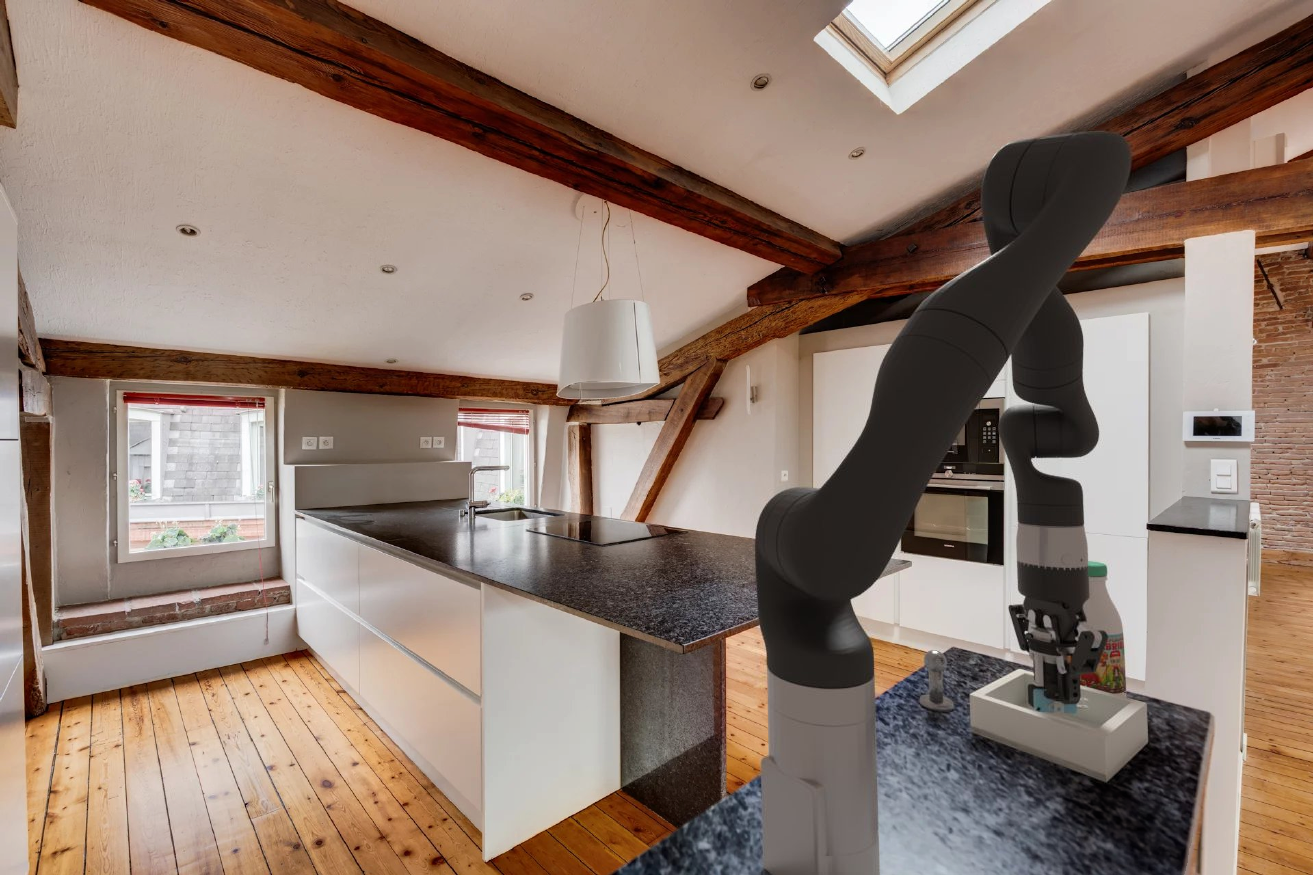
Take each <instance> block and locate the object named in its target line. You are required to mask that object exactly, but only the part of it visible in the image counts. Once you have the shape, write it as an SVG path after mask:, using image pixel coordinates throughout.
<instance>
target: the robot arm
mask: <svg viewBox="0 0 1313 875" xmlns="http://www.w3.org/2000/svg"><path fill="white" fill-rule="evenodd" d="M996 151H997V152H995V153H994V155H993V156H992V158H991V159H990V161H989V163H988V165H987V167H986V169H985V172H984V176H983V179H982V183H981V192H980V208H981V216H982V224H983V227H984V228H983V229H984V233H985V237H986V242H987V245H988V246H987V247H988V249H989V253H990V256H988V257H987V258H986V259H984V260H982V261H980V262H979V263H977V264H975V265H974V266H973V267H971V268H969V269H967V270H965V271H964V272H962V273H960V274H958V275H957V276H956V277H954V278H953V279H950V280H949V281H947V282H946V283H945V284H943V285H942V286H940V287H939V288H937V289H936V290H935V291H934V292H932V293H931V294H929V296H928V297H926V298H925V299H924V300H922V302H921V303H920V304H919V305H918V307H917V308H916V309H915V311H914V312H913V313H912V314H911V316H910V317H909V318H908V320H907V322H906V323H905V324H904V326H903V327H902V329H901V330H900V332H899V333H898V334H897V336H896V337H895V339H894V340H893V341H892V343H891V344H890V347H889V348H888V350H887V352H886V353H885V355H884V357H883V359H882V361H881V363H880V366H879V369H878V372H877V374H876V375H877V376H876V379H875V383H874V388H873V393H872V398H871V404H870V409H869V414H868V416H867V417H868V418H866V419H867V420H866V422H865V425H864V427H863V430H862V432H861V433H860V435H859V437H858V438H857V440H856V441H855V443H854V445H853V446H852V448H851V449H850V451H848V453H847V455H845V457H844V458H843V460H842V461H841V463H840V464H839V465H838V467H837V468H836V469H835V470H834V471H833V473H832V474H831V476H830V477H828V479H827V480H826V481H825V483H824V484H823V485H822V486H821V487H809V486H797V487H796V486H795V487H792V488H791V487H790V488H788V489H784V490H782V491H780V492H778V493H776V494H775V495H774V496H772V497H771V499H769V501H768V502H767V503H766V504H765V506H764V507H763V509H762V511H761V512H760V515H759V518H758V519H757V525H756V529H755V538H754V539H755V540H754V563H755V564H754V566H755V583H756V584H755V585H756V598H757V600H756V601H757V616H758V624H759V629H760V632H761V636H762V639H763V641H764V645H765V646H764V647H765V651H766V652H765V653H766V680H767V681H766V682H767V685H766V687H767V688H766V689H767V727H768V728H767V732H768V733H767V734H768V736H767V737H768V739H767V742H768V755H765V756H764V757H763V758H761V760H760V777H761V779H760V780H761V781H760V784H761V825H762V826H761V829H762V830H761V831H762V867H763V869H765V870H766V871H767V872H768V873H770V874H771V875H881V874H880V873H881V872H880V871H881V869H880V867H881V866H880V829H879V798H878V797H879V796H878V795H879V793H878V761H877V758H878V757H877V725H876V724H877V722H876V720H877V719H876V717H877V716H876V685H875V683H876V681H875V654H874V653H875V652H874V646H873V643H872V641H871V638H870V637H869V635H868V634H867V632H866V630H865V629H864V628H863V626H862V625H861V623H860V621H859V620H858V617H857V615H856V613H855V610H854V608H853V604H852V599H855V598H857V597H859V596H861V595H863V594H864V593H865V592H866V591H867V590H869V589H870V588H871V587H872V586H873V585H874V584H875V583H876V582H877V581H878V580H879V578H880V576H882V574H883V572H884V571H885V569H886V568H887V566H888V564H889V562H890V560H891V559H892V557H893V555H894V553H895V551H896V549H897V547H898V545H899V543H900V541H901V539H902V537H903V535H904V533H905V531H906V529H907V528H908V524H909V523H910V520H911V518H912V517H913V514H914V512H915V511H916V508H917V506H918V504H919V502H920V500H921V498H922V497H923V495H924V493H925V491H926V488H927V487H928V485H929V483H930V481H931V479H932V477H933V476H934V474H935V473H936V472H937V469H938V467H939V466H940V465H941V463H942V462H943V461H944V459H945V457H946V455H947V454H948V452H949V450H950V449H951V448H952V446H953V444H954V443H955V442H956V440H957V438H958V437H959V435H960V433H961V431H962V430H963V428H964V427H965V425H966V424H967V422H968V421H969V419H970V417H971V416H972V414H973V412H974V411H975V410H976V408H977V407H978V405H979V404H980V403H981V401H982V400H983V398H984V397H985V395H986V394H987V393H988V391H989V390H990V389H991V387H992V385H993V384H994V382H996V381H995V380H996V379H997V378H998V376H999V375H1000V373H1001V371H1002V370H1003V368H1004V367H1005V365H1007V362H1008V361H1009V358H1010V357H1011V360H1010V361H1011V378H1012V387H1013V391H1014V393H1015V394H1016V396H1017V397H1018V398H1019V399H1020V400H1021V399H1022V401H1025V402H1026V404H1017V405H1012V406H1009V407H1008V408H1007V409H1005V410H1004V412H1003V413H1002V414H1001V416H1000V418H999V420H998V426H997V428H998V434H999V439H1000V441H1001V444H1002V447H1003V450H1004V452H1005V455H1006V456H1007V459H1008V462H1009V466H1010V469H1011V472H1012V474H1013V479H1014V485H1015V490H1016V492H1015V493H1016V510H1017V511H1016V512H1017V522H1018V523H1017V528H1016V537H1015V539H1016V570H1017V571H1016V574H1017V590H1018V593H1019V594H1020V595H1022V596H1023V597H1024V599H1023V603H1021V604H1020V603H1019V604H1009V605H1008V608H1007V609H1008V613H1009V616H1010V619H1011V622H1012V625H1013V631H1014V632H1015V636H1016V640H1017V643H1018V647H1019V648H1020V650H1021V651H1024V652H1027V653H1028V656H1029V657H1030V660H1032V661H1033V663H1032V665H1033V673H1034V681H1035V661H1034V651H1033V650H1031V649H1030V648H1029V646H1028V640H1027V639H1026V638H1025V634H1026V633H1025V632H1027V633H1030V634H1032V632H1033V627H1034V628H1042V629H1044V630H1047V632H1048V633H1050V643H1054V644H1057V645H1058V644H1060V643H1072V642H1074V641H1075V642H1076V646H1074V647H1070V648H1058V647H1056V652H1057V653H1058V654H1060V655H1061V656H1056V662H1057V668H1058V671H1059V672H1057V680H1058V700H1059V701H1060V702H1062V703H1064V704H1066V705H1067V704H1077V703H1078V702H1079V701H1080V698H1081V693H1080V692H1081V691H1080V675H1081V674H1087V673H1095V672H1096V669H1097V666H1098V664H1099V661H1100V658H1101V656H1102V653H1103V650H1104V648H1105V645H1106V642H1107V640H1108V635H1107V633H1106V632H1105V631H1103V630H1097V631H1096V630H1095V629H1093V628H1092V627H1091V626H1090V625H1089V624H1087V618H1086V615H1085V613H1084V610H1083V604H1084V603H1085V602H1086V601H1087V600H1088V599H1089V597H1090V594H1089V568H1088V561H1089V547H1088V540H1087V535H1086V530H1085V514H1084V513H1085V509H1084V490H1083V487H1082V484H1081V483H1080V482H1079V481H1078V480H1076V479H1074V478H1069V477H1065V476H1059V475H1052V474H1048V473H1044V472H1042V471H1040V470H1038V469H1037V468H1036V467H1035V466H1034V464H1033V462H1032V459H1035V458H1036V459H1073V458H1074V459H1075V458H1076V459H1077V458H1081V457H1085V456H1087V455H1088V454H1089V453H1091V452H1092V451H1093V450H1094V449H1095V448H1096V446H1097V445H1098V443H1099V440H1100V428H1099V425H1098V424H1099V423H1098V421H1097V417H1096V415H1095V412H1094V411H1093V410H1094V409H1093V408H1092V406H1091V403H1090V401H1089V399H1088V397H1087V394H1086V390H1085V384H1084V371H1083V370H1084V368H1083V367H1084V343H1085V341H1084V334H1083V329H1082V325H1081V322H1080V320H1079V318H1078V316H1077V313H1076V312H1075V310H1074V309H1073V307H1072V306H1071V304H1070V302H1068V300H1067V298H1066V297H1065V295H1064V294H1063V293H1062V291H1061V290H1060V289H1059V288H1058V286H1057V285H1058V283H1059V282H1060V281H1061V280H1062V278H1063V277H1064V276H1065V275H1066V273H1067V272H1068V271H1069V269H1070V268H1071V267H1072V266H1073V265H1074V263H1075V262H1076V261H1077V260H1078V258H1079V257H1080V256H1081V255H1082V253H1083V252H1084V251H1085V250H1086V248H1087V247H1088V246H1089V245H1090V244H1091V242H1092V241H1093V240H1094V239H1095V237H1096V236H1097V235H1098V233H1099V232H1100V231H1101V229H1102V228H1103V227H1104V225H1105V224H1106V223H1107V221H1108V220H1109V218H1110V217H1111V215H1112V214H1113V213H1114V210H1115V209H1116V207H1117V205H1118V203H1119V202H1120V200H1121V198H1122V195H1123V193H1124V191H1125V188H1126V186H1127V183H1128V181H1129V180H1128V179H1129V178H1130V173H1131V169H1132V168H1131V167H1132V151H1131V146H1130V144H1129V142H1128V141H1127V139H1126V138H1125V137H1124V136H1123V135H1121V134H1119V133H1116V132H1114V131H1108V130H1107V131H1106V130H1091V131H1090V130H1089V131H1079V132H1070V133H1069V132H1068V133H1061V134H1054V135H1053V134H1052V135H1046V136H1038V137H1037V136H1036V137H1031V138H1030V137H1029V138H1024V139H1019V140H1013V141H1010V142H1008V143H1007V144H1004V145H1003V146H1002V147H1000V148H999V149H998V150H996ZM1027 403H1030V404H1027ZM1032 638H1034V636H1033V634H1032ZM1071 653H1073V655H1071V656H1070V658H1071V661H1070V663H1067V658H1066V655H1067V654H1071ZM1085 660H1086V661H1085ZM1084 661H1085V663H1084Z"/></svg>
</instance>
